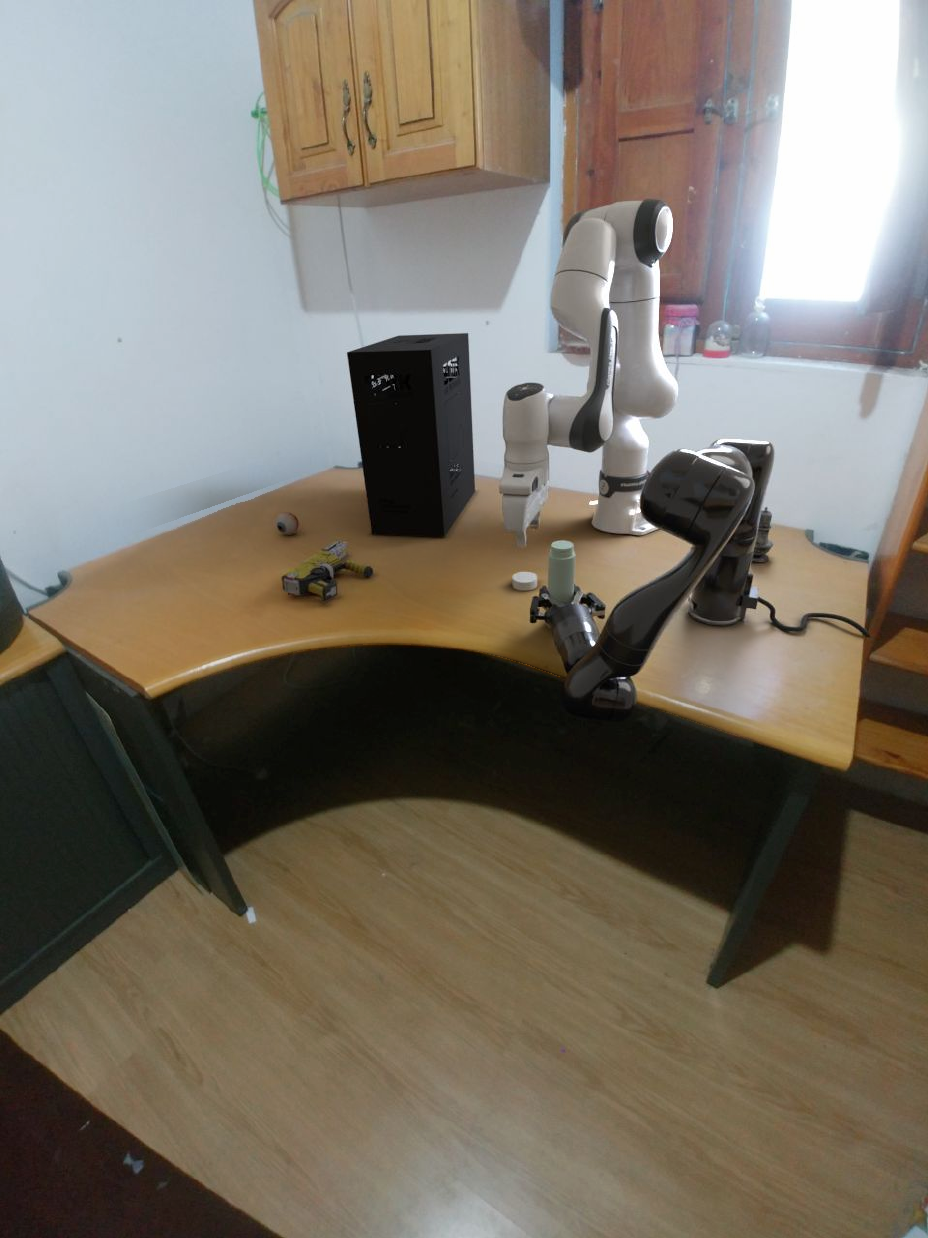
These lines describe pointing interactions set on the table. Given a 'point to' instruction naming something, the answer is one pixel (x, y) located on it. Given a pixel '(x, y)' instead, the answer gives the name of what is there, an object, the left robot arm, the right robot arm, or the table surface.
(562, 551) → the jar
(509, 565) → the table surface
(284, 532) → the eyeball
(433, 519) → the black boxy piece
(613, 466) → the left robot arm
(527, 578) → the lid
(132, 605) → the table surface
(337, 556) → the toy gun
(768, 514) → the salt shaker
